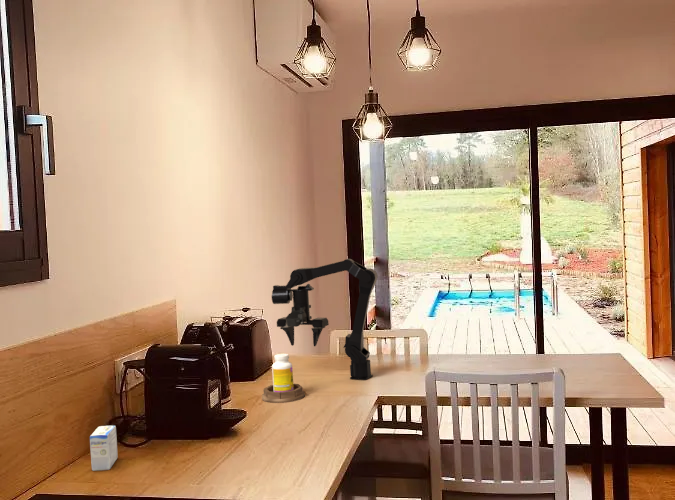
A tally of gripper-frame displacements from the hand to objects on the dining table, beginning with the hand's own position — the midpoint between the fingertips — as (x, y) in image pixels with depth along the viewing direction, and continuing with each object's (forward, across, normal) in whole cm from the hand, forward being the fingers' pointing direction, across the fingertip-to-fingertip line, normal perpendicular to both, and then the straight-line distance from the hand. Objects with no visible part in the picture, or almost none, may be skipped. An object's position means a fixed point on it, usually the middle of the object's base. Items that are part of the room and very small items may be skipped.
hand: (303, 345), depth 246 cm
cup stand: (+12, +5, -25) cm, 28 cm away
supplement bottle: (+11, +5, -25) cm, 28 cm away
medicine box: (+12, -7, -92) cm, 93 cm away
